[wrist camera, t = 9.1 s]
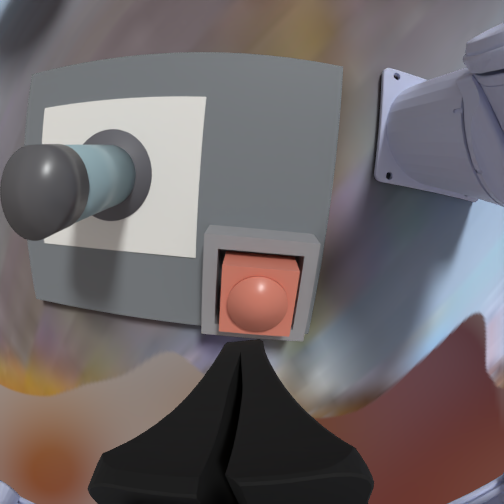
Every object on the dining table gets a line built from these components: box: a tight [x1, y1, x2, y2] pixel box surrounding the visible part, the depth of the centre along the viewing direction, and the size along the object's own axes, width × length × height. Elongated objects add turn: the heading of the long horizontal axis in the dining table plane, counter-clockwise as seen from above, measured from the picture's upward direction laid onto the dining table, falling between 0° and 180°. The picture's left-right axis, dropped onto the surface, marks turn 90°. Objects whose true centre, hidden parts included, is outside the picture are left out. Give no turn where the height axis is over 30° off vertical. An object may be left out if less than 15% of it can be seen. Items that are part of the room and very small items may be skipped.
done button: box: [219, 251, 300, 337], centre depth 17 cm, size 4×4×3 cm
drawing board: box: [24, 52, 343, 341], centre depth 18 cm, size 22×18×3 cm
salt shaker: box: [0, 144, 136, 241], centre depth 14 cm, size 4×4×8 cm
